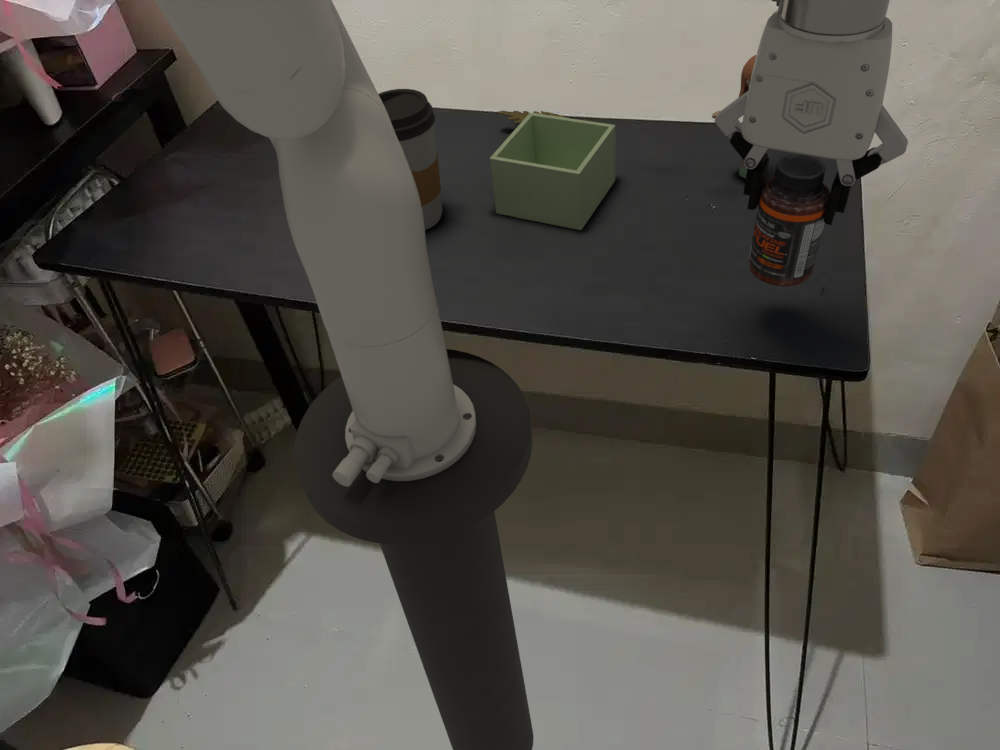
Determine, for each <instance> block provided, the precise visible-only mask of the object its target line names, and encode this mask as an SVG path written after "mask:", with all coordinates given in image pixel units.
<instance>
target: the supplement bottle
mask: <svg viewBox="0 0 1000 750" xmlns="http://www.w3.org/2000/svg"><path fill="white" fill-rule="evenodd" d="M825 174H826V165H825V163H824V162H823V160H821V159H820V158H819V157H815V156H809V155H803V154H797V153H791V154H788V155H784V156H783V157H781V158H779V160H778V162H777V164H776V169H775V172H774V175H773V176H772V177H770V178H769V179H768V180H766V183H765V184H764V185H763V187H762V190H761V193H760V199H759V204H758V206H757V209H756V210H757V211H756V216H755V222H754V226H753V227H754V228H753V234H752V238H751V239H752V240H751V244H750V249H749V257H748V268H749V270H750V272H751V274H752V275H753V276H754V277H755V278H757V279H758V280H760V281H762V282H764V283H766V284H767V285H771V286H776V287H792V286H797V285H800V284H803V283H804V282H806V281H807V280H808V279H809V278H810V277H811V276H812V274H813V271H814V267H815V264H816V261H817V256H818V253H819V248H820V243H821V239H822V236H823V233H824V227H825V225H826V224H825V223H826V222H823V221H824V217H825V213H826V209H827V204H828V200H829V196H830V192H831V190H830V188H829V187H828V185H827V184H826V183H825V182H824V180H825V179H824V178H825Z"/></svg>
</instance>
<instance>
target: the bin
mask: <svg viewBox="0 0 1000 750" xmlns="http://www.w3.org/2000/svg"><path fill="white" fill-rule="evenodd" d="M564 117H565V116H564ZM564 117H557V116H551V115H544V114H542V113H541V114H537V113H533V112H529V114H528V115H527V117H526V118H525V119H524V120H523V121H522V122H521V123H520V124H518V125H517V126H516V128H515V129H514V130H513V131H512V132H511V133H510V135H508V137H507V138H506V139H505V140H504V141H503V142H502V143H501V145H500V146H499V147H498V148H497V149H496V151H494V153H492V155H491V156H490V157H489V164H490V165H489V166H490V175H491V182H492V190H493V198H494V207H495V214H497V215H503V216H508V217H512V218H518V219H523V220H528V221H532V222H536V223H537V222H538V223H541V224H547V225H553V226H558V227H562V228H568V229H573V230H578V231H582V230H583V228H584V227H585V226H586V225H587V223H588V222H589V220H590V219H591V217H592V215H593V214H594V212H595V211H596V210H597V208H598V206H599V205H600V204H601V202H602V201H603V199H605V196H606V195H607V194H608V192H609V190H611V188H612V186H613V184H614V183H615V181H616V124H611V123H604V122H597V121H591V120H583V119H577V118H571V117H568V118H564Z"/></svg>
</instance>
